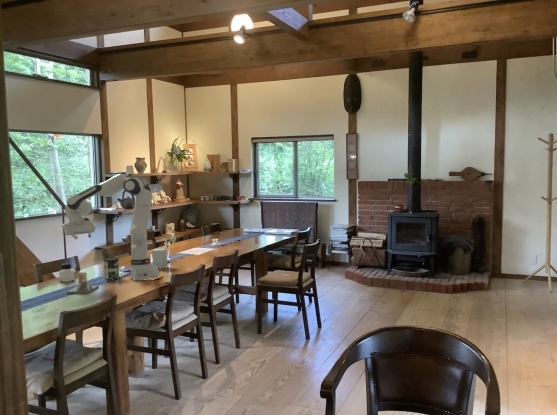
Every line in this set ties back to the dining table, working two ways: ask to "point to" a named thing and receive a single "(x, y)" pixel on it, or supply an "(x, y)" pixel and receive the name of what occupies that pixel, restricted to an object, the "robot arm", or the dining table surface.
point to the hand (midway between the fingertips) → (83, 237)
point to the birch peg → (82, 280)
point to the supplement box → (159, 258)
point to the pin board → (82, 291)
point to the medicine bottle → (66, 273)
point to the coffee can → (111, 267)
